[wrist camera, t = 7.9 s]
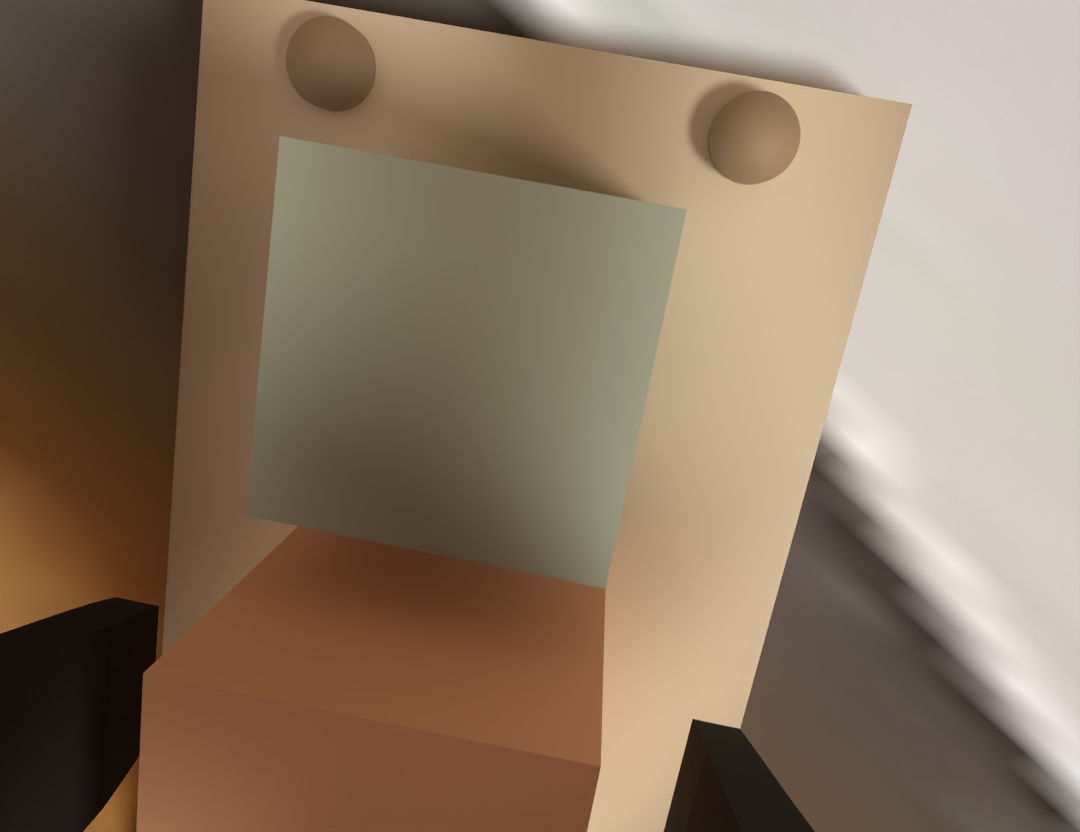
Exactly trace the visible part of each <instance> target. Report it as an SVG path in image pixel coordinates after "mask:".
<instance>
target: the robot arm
mask: <svg viewBox="0 0 1080 832" xmlns="http://www.w3.org/2000/svg"><path fill="white" fill-rule="evenodd" d="M158 610H159V606H154V605H150V604H145V603H140V602H135V601H131V600H126V599H121V598H116V597H115V598H110V599H106V600H102V601H98V602H95V603H91V604H88V605H85V606H82V607H78V608H75V609H72V610H69V611H66V612H63V613H60V614H57V615H54V616H51V617H48V618H45V619H42V620H39V621H36V622H33V623H30V624H28V625H25V626H22V627H19V628H16V629H13V630H10V631H7V632H4V633H1V634H0V832H83V831H84V830H85V829H86V827H87V826H88V825H89V824H90V823H91V822H92V820H93V819H94V818H95V817H96V816H97V815H98V813H99V812H100V811H101V810H102V809H103V807H104V806H105V805H106V803H107V802H108V800H109V799H110V798H111V796H112V795H113V793H114V792H115V790H116V789H117V788H118V786H119V785H120V783H121V782H122V780H123V779H124V778H125V776H126V775H127V773H128V772H129V770H130V769H131V767H132V766H133V764H134V763H135V761H136V760H137V758H138V756H139V755H140V734H141V710H142V687H143V673H144V672H145V671H146V670H147V669H148V668H149V667H150V666H151V665H152V664H153V663H155V659H156V643H157V626H158ZM664 832H815V831H814V830H813V829H812V827H811V826H810V825H809V823H808V822H807V821H806V819H805V818H804V817H803V815H802V814H801V813H800V811H799V810H798V809H797V807H796V806H795V805H794V803H793V802H792V800H791V799H790V798H789V796H788V795H787V794H786V792H785V791H784V789H783V788H782V787H781V785H780V784H779V782H778V781H777V780H776V778H775V777H774V776H773V774H772V773H771V771H770V770H769V768H768V767H767V766H766V764H765V763H764V761H763V760H762V759H761V757H760V756H759V754H758V753H757V752H756V750H755V749H754V747H753V746H752V745H751V743H750V742H749V741H748V739H747V738H746V736H745V735H744V734H743V732H742V731H741V730H740V729H739V728H734V727H729V726H724V725H720V724H715V723H710V722H705V721H701V720H696V719H692V723H691V727H690V731H689V735H688V739H687V743H686V747H685V751H684V754H683V758H682V762H681V766H680V770H679V774H678V778H677V782H676V786H675V789H674V793H673V797H672V801H671V805H670V809H669V813H668V817H667V820H666V824H665V828H664Z"/></svg>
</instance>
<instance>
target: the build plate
mask: <svg viewBox="0 0 1080 832" xmlns="http://www.w3.org/2000/svg"><path fill="white" fill-rule="evenodd" d="M911 106H912V104H907V103H901V102H895V101H889V100H883V99H877V98H872V97H866V96H860V95H854V94H848V93H842V92H837V91H831V90H825V89H819V88H813V87H807V86H802V85H796V84H790V83H784V82H778V81H772V80H767V79H761V78H755V77H749V76H743V75H737V74H732V73H726V72H720V71H714V70H708V69H702V68H697V67H691V66H685V65H679V64H673V63H668V62H662V61H656V60H650V59H644V58H638V57H633V56H627V55H621V54H615V53H609V52H603V51H598V50H592V49H586V48H580V47H574V46H568V45H563V44H557V43H551V42H545V41H539V40H533V39H528V38H522V37H516V36H510V35H504V34H498V33H493V32H487V31H481V30H475V29H469V28H463V27H458V26H452V25H446V24H440V23H434V22H429V21H423V20H417V19H411V18H405V17H399V16H394V15H388V14H382V13H376V12H370V11H364V10H359V9H353V8H347V7H341V6H335V5H329V4H324V3H318V2H312V1H306V0H203V12H202V28H201V44H200V59H199V75H198V91H197V107H196V123H195V139H194V154H193V170H192V186H191V202H190V218H189V234H188V249H187V265H186V281H185V297H184V313H183V329H182V345H181V360H180V376H179V392H178V408H177V424H176V440H175V455H174V471H173V487H172V503H171V519H170V535H169V550H168V566H167V582H166V598H165V614H164V630H163V645H162V655H163V654H164V653H165V652H166V651H167V650H168V649H169V648H170V647H171V646H172V645H173V644H175V643H176V642H177V641H178V640H179V639H180V638H181V637H182V636H183V635H184V634H185V633H186V632H187V631H188V630H189V629H190V628H191V627H192V626H193V625H195V624H196V623H197V622H198V621H199V620H200V619H201V618H202V617H203V616H204V615H205V614H206V613H207V612H208V611H209V610H210V609H211V608H212V607H213V606H215V605H216V604H217V603H218V602H219V601H220V600H221V599H222V598H223V597H224V596H225V595H226V594H227V593H228V592H229V591H230V590H231V589H232V588H233V587H235V586H236V585H237V584H238V583H239V582H240V581H241V580H242V579H243V578H244V577H245V576H246V575H247V574H248V573H249V572H250V571H251V570H252V569H253V568H255V567H256V566H257V565H258V564H259V563H260V562H261V561H262V560H263V559H264V558H265V557H266V556H267V555H268V554H269V553H270V552H271V551H272V550H273V549H275V548H276V547H277V546H278V545H279V544H280V543H281V542H282V541H283V540H284V539H285V538H286V537H287V536H288V535H289V534H290V533H291V532H292V531H293V530H295V529H296V528H297V527H298V526H300V527H305V528H309V529H314V530H319V531H324V532H329V533H334V534H339V535H344V536H349V537H354V538H359V539H363V540H368V541H373V542H378V543H383V544H388V545H393V546H398V547H403V548H408V549H412V550H417V551H422V552H427V553H432V554H437V555H442V556H447V557H452V558H457V559H461V560H466V561H471V562H476V563H481V564H486V565H491V566H496V567H501V568H506V569H511V570H515V571H520V572H525V573H530V574H535V575H540V576H545V577H550V578H555V579H560V580H564V581H569V582H574V583H579V584H584V585H589V586H594V587H599V588H604V589H605V626H604V665H603V703H602V742H601V768H600V773H599V778H598V782H597V787H596V792H595V796H594V801H593V806H592V810H591V815H590V820H589V825H588V829H587V832H664V828H665V824H666V820H667V817H668V813H669V809H670V805H671V801H672V797H673V793H674V789H675V786H676V782H677V778H678V774H679V770H680V766H681V762H682V758H683V754H684V751H685V747H686V743H687V739H688V735H689V731H690V727H691V723H692V719H696V720H701V721H705V722H710V723H715V724H720V725H724V726H729V727H734V728H739V729H740V727H741V723H742V719H743V716H744V712H745V709H746V705H747V701H748V698H749V694H750V690H751V687H752V683H753V679H754V676H755V672H756V669H757V665H758V661H759V658H760V654H761V650H762V647H763V643H764V640H765V636H766V632H767V629H768V625H769V621H770V618H771V614H772V610H773V607H774V603H775V600H776V596H777V592H778V589H779V585H780V581H781V578H782V574H783V571H784V567H785V563H786V560H787V556H788V552H789V549H790V545H791V542H792V538H793V534H794V531H795V527H796V523H797V520H798V516H799V512H800V509H801V505H802V502H803V498H804V494H805V491H806V487H807V483H808V480H809V476H810V473H811V469H812V465H813V462H814V458H815V454H816V451H817V447H818V444H819V440H820V436H821V433H822V429H823V425H824V422H825V418H826V414H827V411H828V407H829V404H830V400H831V396H832V393H833V389H834V385H835V382H836V378H837V375H838V371H839V367H840V364H841V360H842V356H843V353H844V349H845V346H846V342H847V338H848V335H849V331H850V327H851V324H852V320H853V316H854V313H855V309H856V306H857V302H858V298H859V295H860V291H861V287H862V284H863V280H864V277H865V273H866V269H867V266H868V262H869V258H870V255H871V251H872V247H873V244H874V240H875V237H876V233H877V229H878V226H879V222H880V218H881V215H882V211H883V208H884V204H885V200H886V197H887V193H888V189H889V186H890V182H891V179H892V175H893V171H894V168H895V164H896V160H897V157H898V153H899V149H900V146H901V142H902V139H903V135H904V131H905V128H906V124H907V120H908V117H909V113H910V110H911Z"/></svg>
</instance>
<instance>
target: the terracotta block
mask: <svg viewBox="0 0 1080 832" xmlns="http://www.w3.org/2000/svg"><path fill="white" fill-rule="evenodd" d="M604 626H605V589H604V588H599V587H594V586H589V585H584V584H579V583H574V582H569V581H564V580H560V579H555V578H550V577H545V576H540V575H535V574H530V573H525V572H520V571H515V570H511V569H506V568H501V567H496V566H491V565H486V564H481V563H476V562H471V561H466V560H461V559H457V558H452V557H447V556H442V555H437V554H432V553H427V552H422V551H417V550H412V549H408V548H403V547H398V546H393V545H388V544H383V543H378V542H373V541H368V540H363V539H359V538H354V537H349V536H344V535H339V534H334V533H329V532H324V531H319V530H314V529H309V528H305V527H300V526H298V527H297V528H296V529H295V530H293V531H292V532H291V533H290V534H289V535H288V536H287V537H286V538H285V539H284V540H283V541H282V542H281V543H280V544H279V545H278V546H277V547H276V548H275V549H273V550H272V551H271V552H270V553H269V554H268V555H267V556H266V557H265V558H264V559H263V560H262V561H261V562H260V563H259V564H258V565H257V566H256V567H255V568H253V569H252V570H251V571H250V572H249V573H248V574H247V575H246V576H245V577H244V578H243V579H242V580H241V581H240V582H239V583H238V584H237V585H236V586H235V587H233V588H232V589H231V590H230V591H229V592H228V593H227V594H226V595H225V596H224V597H223V598H222V599H221V600H220V601H219V602H218V603H217V604H216V605H215V606H213V607H212V608H211V609H210V610H209V611H208V612H207V613H206V614H205V615H204V616H203V617H202V618H201V619H200V620H199V621H198V622H197V623H196V624H195V625H193V626H192V627H191V628H190V629H189V630H188V631H187V632H186V633H185V634H184V635H183V636H182V637H181V638H180V639H179V640H178V641H177V642H176V643H175V644H173V645H172V646H171V647H170V648H169V649H168V650H167V651H166V652H165V653H164V654H163V655H162V656H161V657H160V658H159V659H158V660H157V661H156V662H155V663H153V664H152V665H151V666H150V667H149V668H148V669H147V670H146V671H145V672H144V673H143V687H142V710H141V734H140V757H139V780H138V803H137V826H136V832H587V829H588V825H589V820H590V815H591V810H592V806H593V801H594V796H595V792H596V787H597V782H598V778H599V773H600V768H601V742H602V703H603V665H604Z"/></svg>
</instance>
